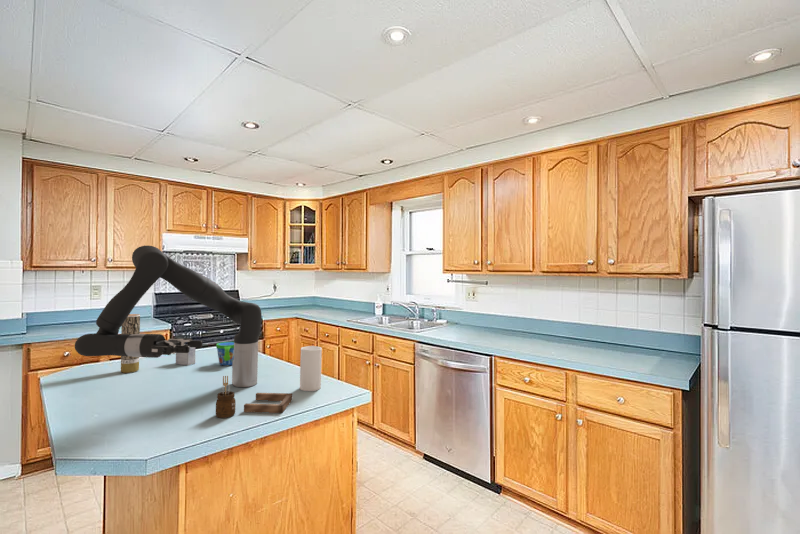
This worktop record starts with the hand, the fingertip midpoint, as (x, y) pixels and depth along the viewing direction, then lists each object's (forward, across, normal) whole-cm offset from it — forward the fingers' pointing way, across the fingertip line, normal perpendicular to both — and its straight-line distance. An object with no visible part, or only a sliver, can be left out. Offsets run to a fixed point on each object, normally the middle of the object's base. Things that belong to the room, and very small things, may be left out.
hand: (195, 346), depth 132 cm
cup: (+31, +30, +22) cm, 49 cm away
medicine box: (-36, +64, +22) cm, 76 cm away
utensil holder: (+10, 0, +22) cm, 24 cm away
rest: (+21, +9, +22) cm, 32 cm away
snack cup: (-16, +64, +22) cm, 70 cm away
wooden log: (-52, +49, +22) cm, 75 cm away
